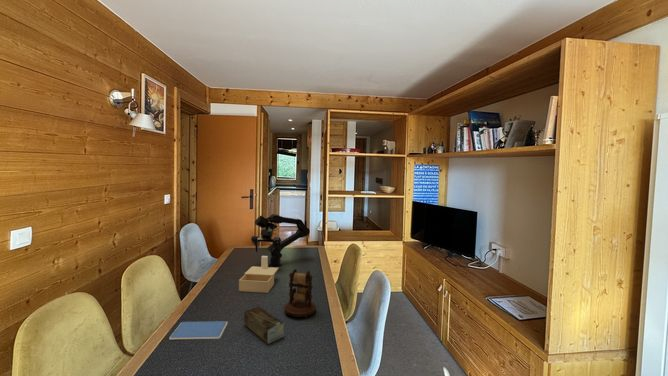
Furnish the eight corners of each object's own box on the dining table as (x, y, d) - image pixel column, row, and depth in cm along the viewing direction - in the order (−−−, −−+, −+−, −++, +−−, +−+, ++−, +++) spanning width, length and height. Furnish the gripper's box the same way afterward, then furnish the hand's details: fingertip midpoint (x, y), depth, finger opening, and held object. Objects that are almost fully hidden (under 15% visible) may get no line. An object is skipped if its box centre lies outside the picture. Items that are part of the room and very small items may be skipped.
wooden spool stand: (320, 307, 145) (320, 266, 143) (309, 322, 131) (310, 277, 129) (292, 302, 149) (292, 263, 147) (278, 316, 135) (279, 273, 133)
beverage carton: (267, 345, 113) (267, 328, 113) (243, 325, 127) (243, 310, 127) (284, 337, 119) (284, 321, 118) (260, 318, 133) (260, 304, 132)
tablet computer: (228, 323, 129) (228, 320, 129) (219, 340, 116) (219, 337, 116) (181, 324, 127) (181, 321, 127) (168, 341, 115) (167, 338, 114)
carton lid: (252, 267, 181) (252, 255, 180) (278, 268, 180) (278, 256, 179) (244, 274, 169) (244, 261, 168) (272, 276, 167) (272, 262, 167)
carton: (247, 282, 173) (247, 272, 172) (274, 284, 171) (274, 273, 171) (238, 291, 161) (238, 280, 160) (267, 292, 159) (268, 281, 159)
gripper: (252, 223, 192) (245, 245, 181) (280, 224, 190) (275, 246, 180) (256, 233, 200) (250, 254, 190) (283, 234, 199) (278, 255, 188)
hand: (263, 252), depth 187 cm, fingers open, 9 cm apart
